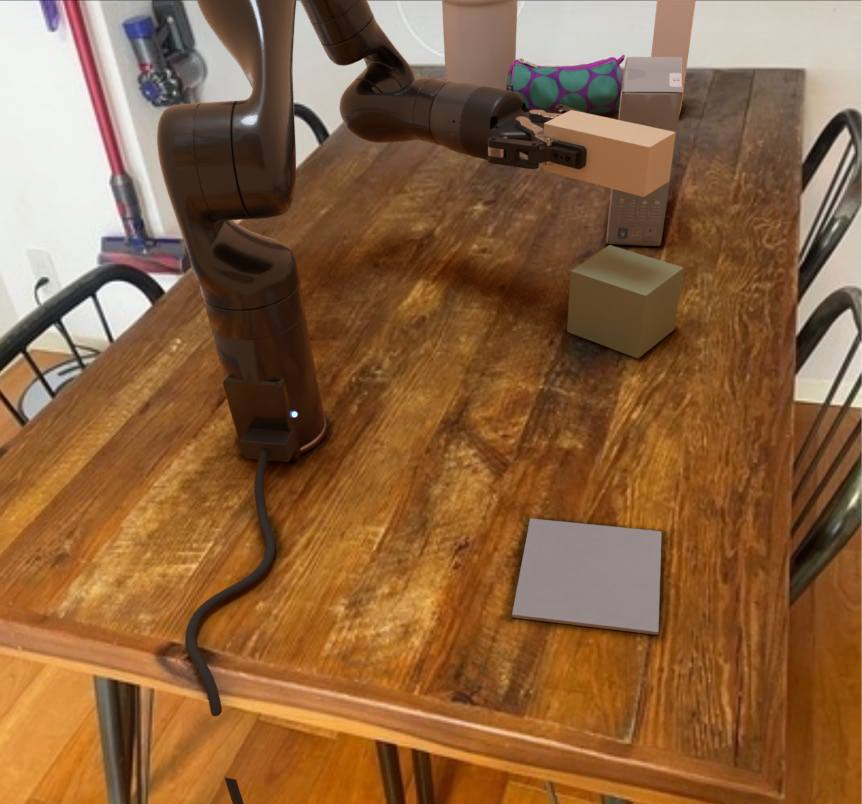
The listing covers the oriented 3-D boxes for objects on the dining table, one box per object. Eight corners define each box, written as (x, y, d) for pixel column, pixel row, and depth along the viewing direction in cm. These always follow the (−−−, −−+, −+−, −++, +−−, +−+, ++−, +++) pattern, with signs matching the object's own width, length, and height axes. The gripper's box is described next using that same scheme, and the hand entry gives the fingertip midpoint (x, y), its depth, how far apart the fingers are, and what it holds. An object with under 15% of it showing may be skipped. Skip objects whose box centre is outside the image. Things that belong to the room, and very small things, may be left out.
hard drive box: (661, 248, 118) (683, 92, 104) (605, 246, 119) (619, 92, 105) (663, 201, 129) (682, 54, 115) (611, 200, 130) (624, 54, 116)
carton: (542, 170, 95) (543, 123, 92) (568, 156, 98) (571, 109, 94) (643, 197, 88) (649, 147, 85) (669, 181, 91) (676, 131, 87)
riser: (566, 332, 104) (570, 270, 98) (604, 305, 108) (609, 244, 102) (637, 358, 99) (645, 295, 93) (674, 329, 103) (684, 267, 97)
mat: (657, 635, 70) (658, 632, 69) (511, 617, 72) (511, 614, 72) (661, 534, 78) (661, 531, 78) (530, 521, 80) (530, 518, 80)
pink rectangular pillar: (648, 108, 158) (662, -34, 143) (681, 108, 156) (700, -34, 141) (644, 119, 154) (659, -25, 139) (678, 120, 152) (697, -26, 137)
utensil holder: (483, 70, 180) (481, -28, 168) (533, 84, 171) (535, -18, 159) (429, 88, 174) (423, -13, 161) (478, 104, 165) (476, -1, 153)
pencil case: (505, 125, 156) (505, 67, 149) (507, 108, 162) (507, 52, 155) (621, 121, 154) (627, 62, 147) (618, 104, 160) (623, 47, 153)
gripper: (435, 104, 94) (562, 133, 85) (516, 70, 101) (640, 94, 93) (439, 173, 99) (558, 208, 91) (515, 136, 107) (633, 164, 98)
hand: (599, 150), depth 92 cm, fingers closed on carton, 5 cm apart
